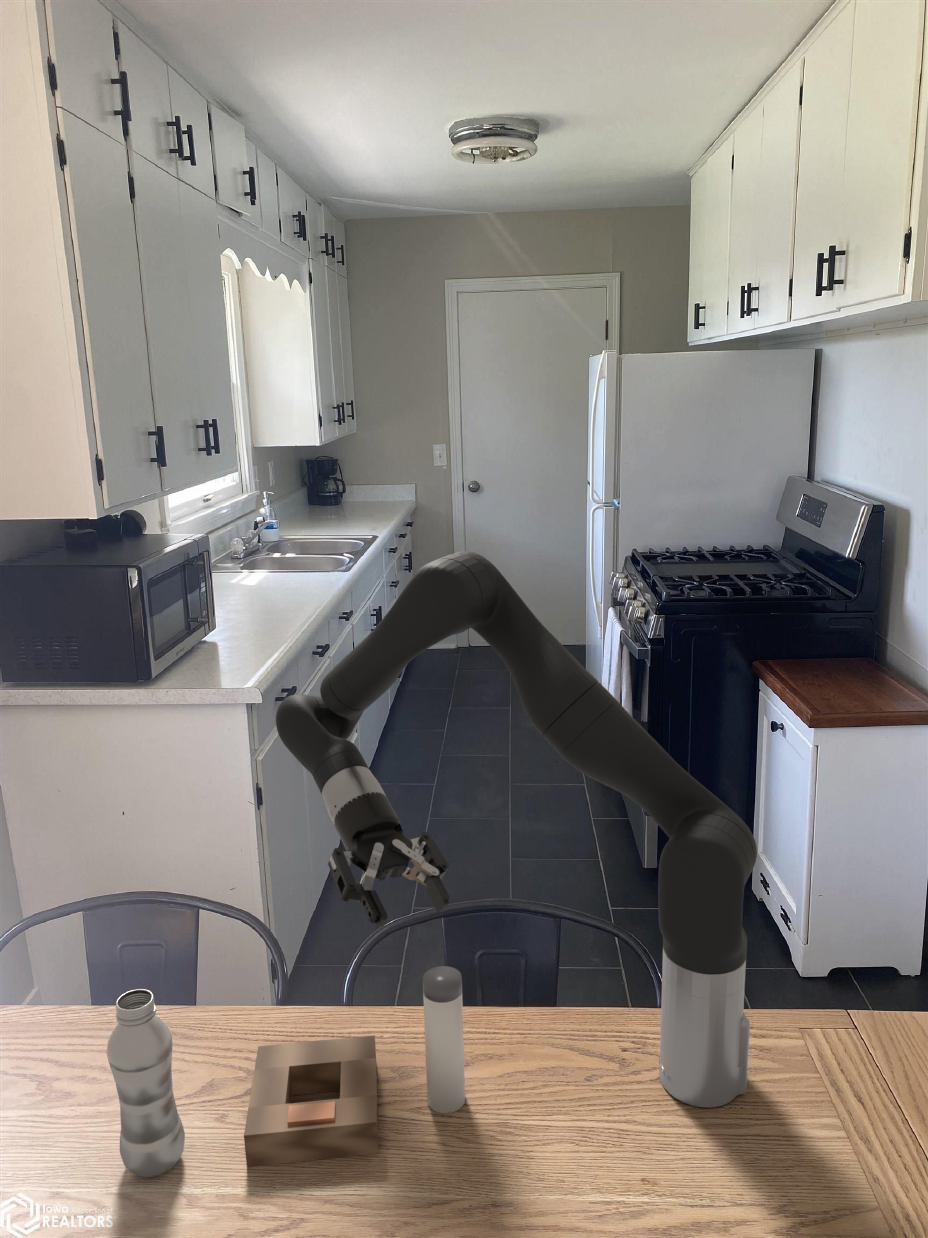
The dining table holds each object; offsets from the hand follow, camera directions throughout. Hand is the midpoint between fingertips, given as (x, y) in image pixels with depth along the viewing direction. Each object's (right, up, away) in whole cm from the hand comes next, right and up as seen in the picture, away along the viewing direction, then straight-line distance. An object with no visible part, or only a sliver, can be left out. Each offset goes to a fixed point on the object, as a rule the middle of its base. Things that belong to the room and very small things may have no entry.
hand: (414, 915), depth 109 cm
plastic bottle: (-27, -24, -9) cm, 38 cm away
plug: (+4, -21, -1) cm, 21 cm away
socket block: (-11, -22, -3) cm, 25 cm away
